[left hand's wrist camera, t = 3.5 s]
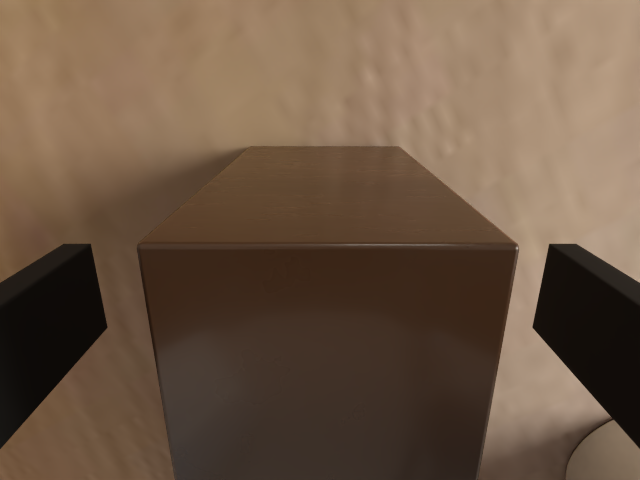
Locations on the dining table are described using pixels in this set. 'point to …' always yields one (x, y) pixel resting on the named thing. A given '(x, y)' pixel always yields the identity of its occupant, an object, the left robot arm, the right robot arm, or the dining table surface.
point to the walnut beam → (327, 320)
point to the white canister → (605, 456)
